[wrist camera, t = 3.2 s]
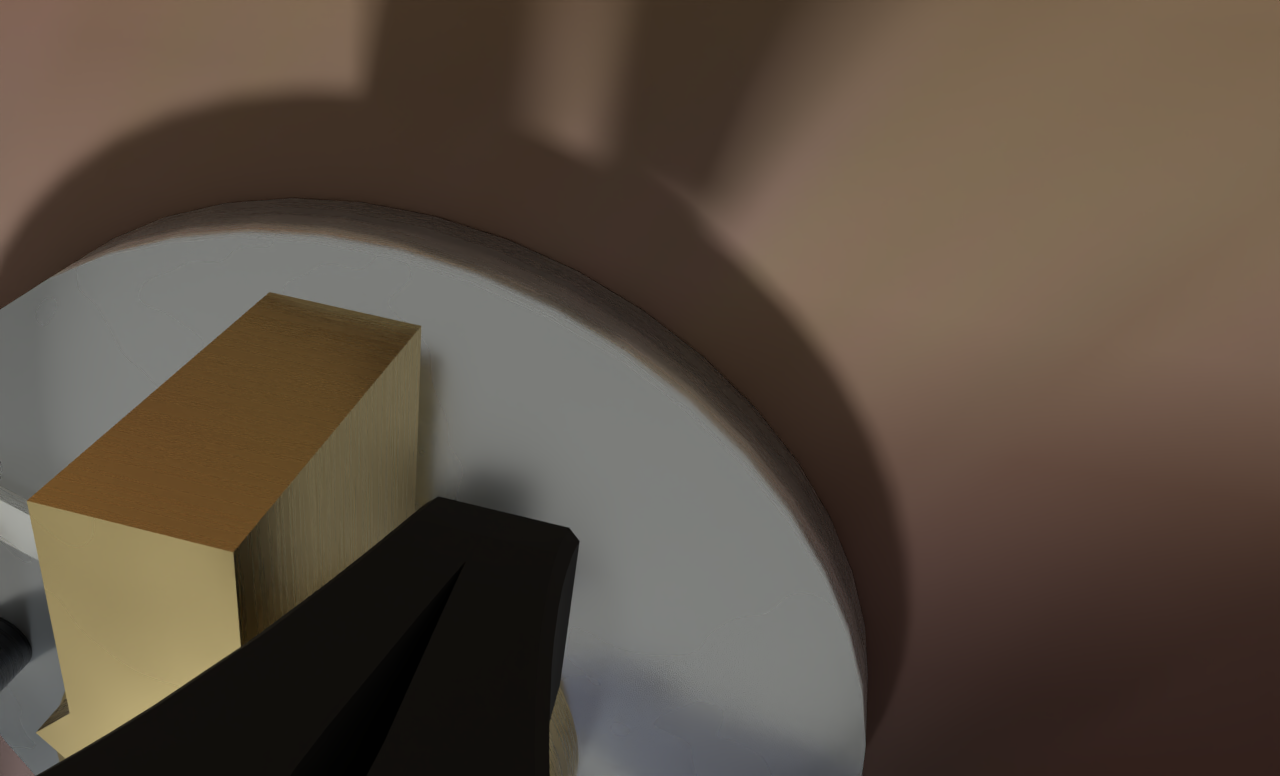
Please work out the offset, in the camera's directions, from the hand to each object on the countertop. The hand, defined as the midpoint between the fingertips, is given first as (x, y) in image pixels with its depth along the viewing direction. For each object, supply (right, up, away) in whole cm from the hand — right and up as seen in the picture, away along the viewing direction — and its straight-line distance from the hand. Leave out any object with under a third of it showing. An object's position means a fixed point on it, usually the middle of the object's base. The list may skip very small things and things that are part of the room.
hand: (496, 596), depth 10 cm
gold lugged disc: (-2, -1, +4) cm, 4 cm away
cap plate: (-2, -2, +6) cm, 6 cm away
